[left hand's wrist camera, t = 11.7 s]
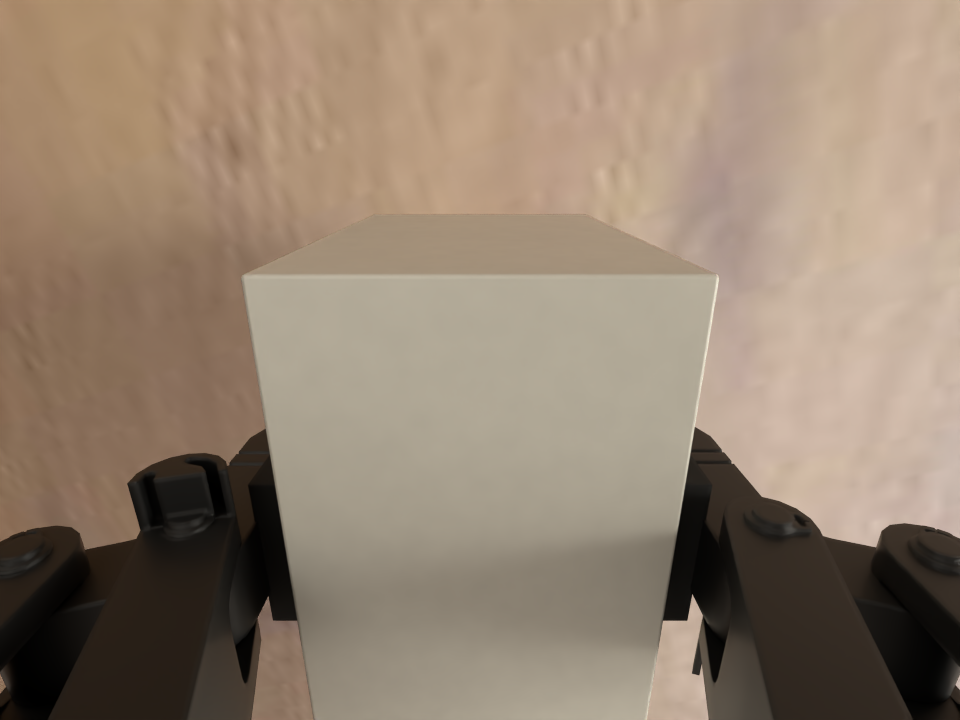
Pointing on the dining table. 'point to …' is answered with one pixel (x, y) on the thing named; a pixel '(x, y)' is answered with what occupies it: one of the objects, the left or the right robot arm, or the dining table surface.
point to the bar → (480, 459)
